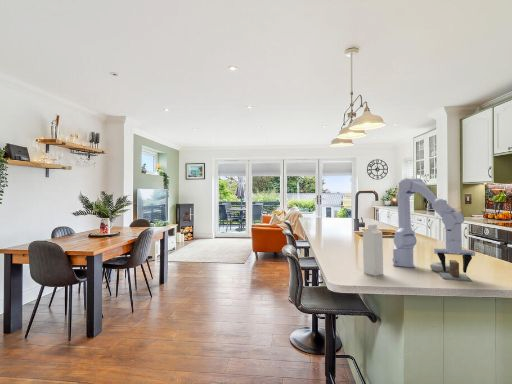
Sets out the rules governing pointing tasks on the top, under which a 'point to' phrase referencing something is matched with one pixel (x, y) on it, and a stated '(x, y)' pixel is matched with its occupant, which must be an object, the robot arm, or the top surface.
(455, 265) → the tall brown wooden block
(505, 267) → the top surface
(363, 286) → the top surface
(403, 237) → the robot arm
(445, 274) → the mat
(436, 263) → the donut
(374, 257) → the milk
